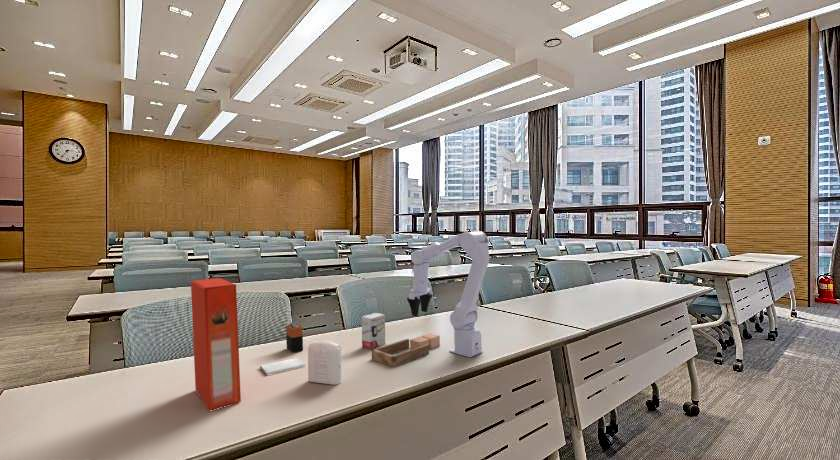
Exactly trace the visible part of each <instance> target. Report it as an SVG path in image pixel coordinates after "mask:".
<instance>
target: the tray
mask: <svg viewBox="0 0 840 460" xmlns="http://www.w3.org/2000/svg"><path fill="white" fill-rule="evenodd" d="M407 349H409V350H407ZM404 350H406V351H404ZM401 351H402V352H401ZM398 352H400V353H398ZM395 353H396V354H395ZM393 354H394V355H393ZM429 354H430V348H429V345H428V344H426V345H423V346H420V347H417V348H414V349H411V350H410V339H409V338H405V339H402V340H399V341H396V342H393V343H390V344H385V345H381V346H378V347H376V348H373V349H371V360H373V361H376V362H378V363H382V364H385V365H387V366H390V367H393V368H395V367H397V366H400V365H402V364H405V363H407V362H411V361H414V360H416V359H419V358H422V357H424V356H427V355H429Z"/></svg>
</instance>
